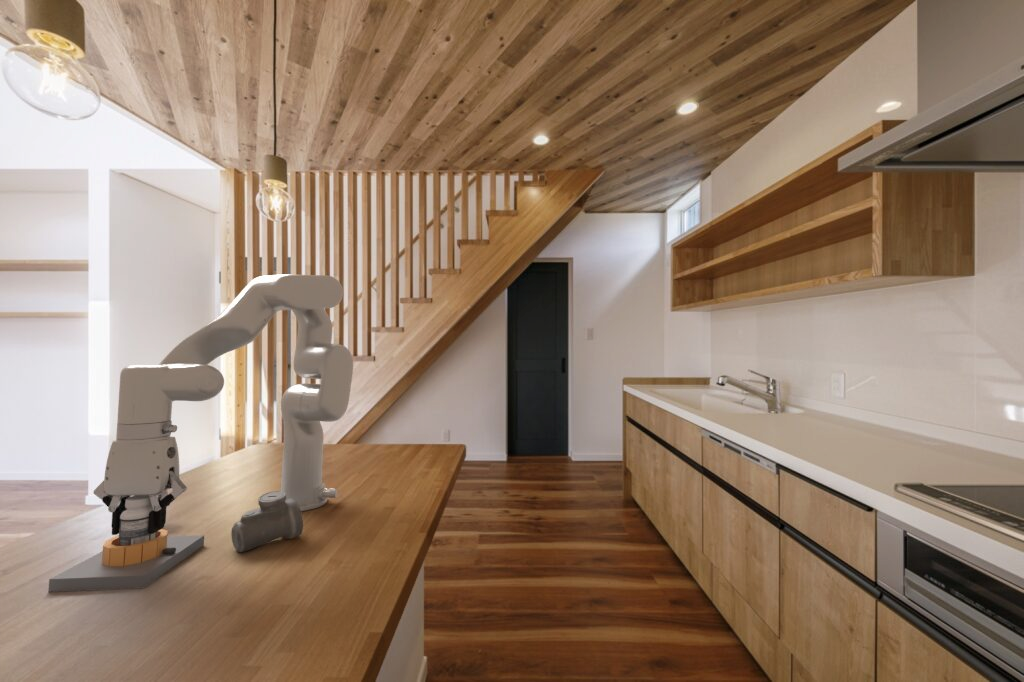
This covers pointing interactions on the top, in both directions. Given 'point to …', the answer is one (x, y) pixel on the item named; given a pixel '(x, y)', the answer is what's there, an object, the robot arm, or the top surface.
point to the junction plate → (127, 564)
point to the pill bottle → (135, 521)
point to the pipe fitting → (268, 522)
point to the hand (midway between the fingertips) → (138, 530)
